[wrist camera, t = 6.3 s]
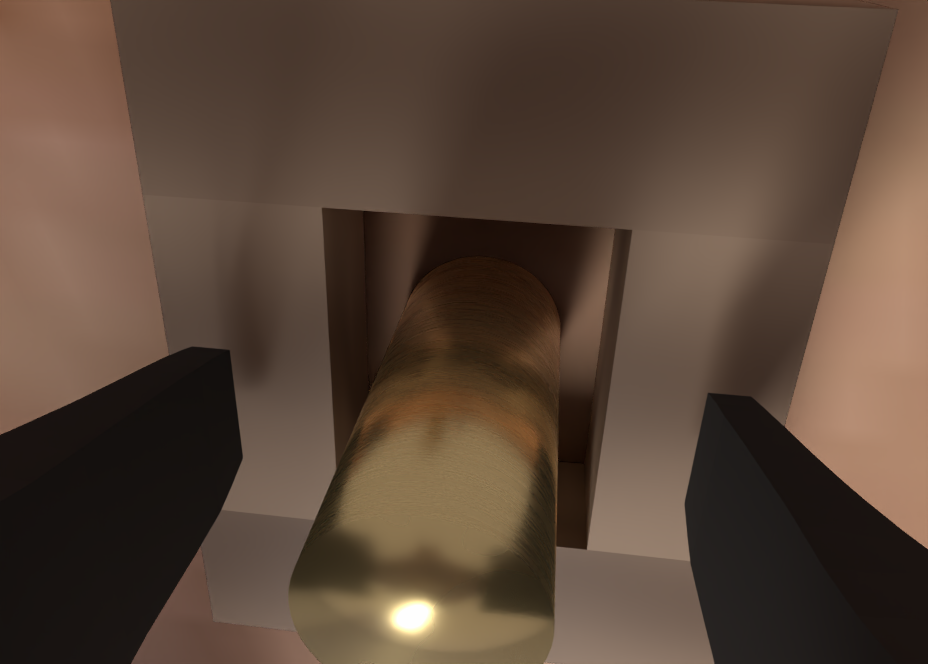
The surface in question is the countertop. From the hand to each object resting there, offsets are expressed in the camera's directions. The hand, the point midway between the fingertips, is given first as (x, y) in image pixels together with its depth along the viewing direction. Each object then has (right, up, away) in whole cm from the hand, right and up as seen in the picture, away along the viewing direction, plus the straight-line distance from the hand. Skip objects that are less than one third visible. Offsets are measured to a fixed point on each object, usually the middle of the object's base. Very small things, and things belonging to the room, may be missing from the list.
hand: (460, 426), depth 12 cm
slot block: (0, +2, +3) cm, 3 cm away
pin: (0, +1, +3) cm, 3 cm away
